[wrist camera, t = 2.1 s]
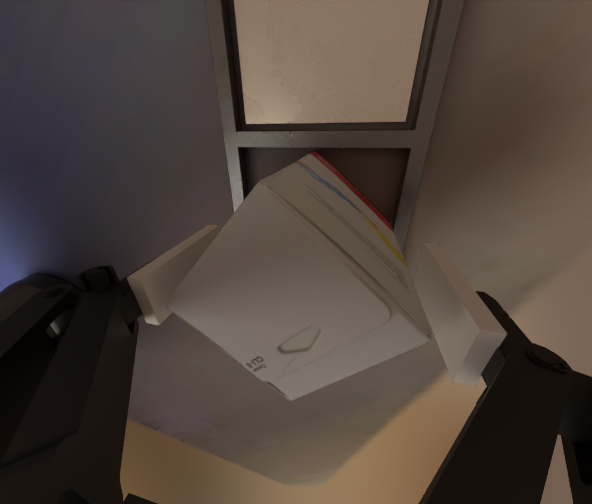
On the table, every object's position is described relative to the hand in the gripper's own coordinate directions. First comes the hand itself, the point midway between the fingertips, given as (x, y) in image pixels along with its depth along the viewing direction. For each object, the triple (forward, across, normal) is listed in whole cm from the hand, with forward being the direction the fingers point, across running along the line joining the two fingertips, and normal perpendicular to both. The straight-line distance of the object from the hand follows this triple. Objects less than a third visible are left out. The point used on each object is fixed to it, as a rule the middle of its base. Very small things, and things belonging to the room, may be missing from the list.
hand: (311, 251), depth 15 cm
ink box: (+6, 0, 0) cm, 6 cm away
